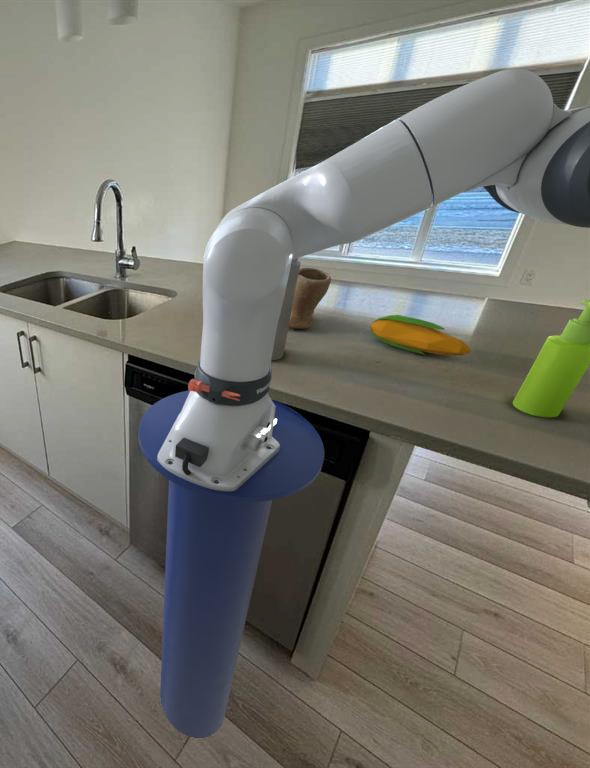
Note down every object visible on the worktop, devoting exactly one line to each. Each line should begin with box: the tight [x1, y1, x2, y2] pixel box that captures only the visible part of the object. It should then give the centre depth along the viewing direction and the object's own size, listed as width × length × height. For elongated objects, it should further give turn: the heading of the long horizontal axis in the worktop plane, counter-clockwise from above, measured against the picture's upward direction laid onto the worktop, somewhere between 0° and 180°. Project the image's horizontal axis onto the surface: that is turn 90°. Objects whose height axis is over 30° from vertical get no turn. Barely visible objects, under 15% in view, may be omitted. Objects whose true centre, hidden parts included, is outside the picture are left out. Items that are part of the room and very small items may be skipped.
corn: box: [370, 314, 472, 357], centre depth 93 cm, size 7×8×20 cm
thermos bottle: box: [271, 258, 301, 361], centre depth 93 cm, size 8×8×28 cm
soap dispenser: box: [512, 299, 590, 419], centre depth 67 cm, size 6×7×20 cm
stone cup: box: [288, 267, 332, 330], centre depth 111 cm, size 15×12×15 cm
